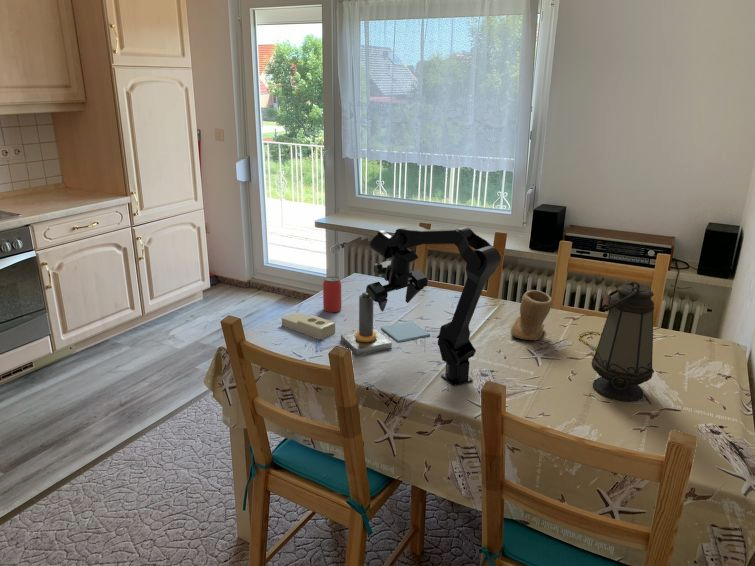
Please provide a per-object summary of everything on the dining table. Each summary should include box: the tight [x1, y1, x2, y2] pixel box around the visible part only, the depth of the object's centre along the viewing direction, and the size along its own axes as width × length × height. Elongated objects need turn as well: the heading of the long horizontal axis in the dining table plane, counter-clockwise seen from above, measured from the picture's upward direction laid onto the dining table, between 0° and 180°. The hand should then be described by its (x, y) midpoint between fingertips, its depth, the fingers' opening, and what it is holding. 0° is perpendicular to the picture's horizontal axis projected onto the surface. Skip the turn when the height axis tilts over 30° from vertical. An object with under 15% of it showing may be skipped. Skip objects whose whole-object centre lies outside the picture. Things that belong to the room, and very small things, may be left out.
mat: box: [380, 320, 431, 343], centre depth 182 cm, size 12×12×1 cm
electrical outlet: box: [281, 311, 336, 340], centre depth 183 cm, size 7×4×18 cm
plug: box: [355, 291, 376, 343], centre depth 170 cm, size 6×6×17 cm
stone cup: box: [510, 289, 553, 341], centre depth 180 cm, size 15×12×15 cm
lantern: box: [591, 280, 655, 403], centre depth 143 cm, size 18×15×30 cm
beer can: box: [322, 275, 342, 313], centre depth 198 cm, size 7×7×12 cm
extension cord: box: [578, 331, 602, 352], centre depth 176 cm, size 12×16×2 cm
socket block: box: [340, 328, 393, 356], centre depth 172 cm, size 12×12×2 cm
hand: (394, 306), depth 168 cm, fingers open, 9 cm apart
